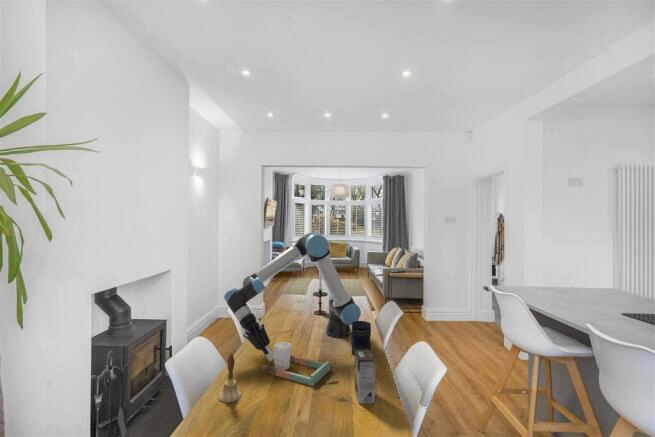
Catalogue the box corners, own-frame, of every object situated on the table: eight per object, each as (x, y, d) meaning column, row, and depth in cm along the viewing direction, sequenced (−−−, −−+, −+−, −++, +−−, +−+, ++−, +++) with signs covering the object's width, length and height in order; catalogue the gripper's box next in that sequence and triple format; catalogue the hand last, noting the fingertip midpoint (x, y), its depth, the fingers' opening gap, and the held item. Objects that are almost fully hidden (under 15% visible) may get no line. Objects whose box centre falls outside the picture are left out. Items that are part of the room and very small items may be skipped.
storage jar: (359, 347, 165) (360, 319, 165) (374, 353, 158) (375, 323, 158) (347, 353, 158) (347, 323, 158) (362, 359, 151) (362, 328, 151)
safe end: (289, 379, 131) (289, 370, 131) (308, 364, 145) (308, 356, 145) (312, 386, 126) (312, 376, 126) (329, 370, 140) (329, 361, 140)
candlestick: (325, 316, 219) (326, 266, 220) (310, 315, 222) (311, 265, 222) (328, 311, 230) (329, 264, 230) (314, 310, 232) (315, 263, 233)
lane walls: (261, 371, 138) (261, 365, 138) (281, 358, 152) (281, 352, 152) (276, 375, 134) (276, 369, 134) (295, 361, 148) (295, 356, 148)
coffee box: (353, 390, 123) (354, 349, 123) (369, 390, 123) (370, 349, 124) (358, 404, 114) (358, 359, 114) (375, 403, 114) (375, 359, 115)
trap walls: (276, 375, 134) (276, 369, 134) (295, 361, 148) (295, 356, 148) (289, 379, 131) (289, 373, 131) (308, 364, 145) (308, 359, 145)
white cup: (276, 372, 137) (276, 350, 137) (271, 365, 143) (271, 343, 144) (293, 369, 140) (293, 346, 140) (287, 362, 147) (287, 340, 147)
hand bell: (242, 389, 123) (242, 349, 123) (240, 401, 115) (240, 358, 115) (220, 391, 121) (220, 350, 122) (216, 403, 113) (217, 359, 113)
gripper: (250, 318, 158) (276, 358, 150) (231, 325, 147) (258, 369, 139) (258, 309, 156) (285, 349, 148) (240, 316, 144) (268, 360, 136)
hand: (272, 359), depth 143 cm, fingers closed
